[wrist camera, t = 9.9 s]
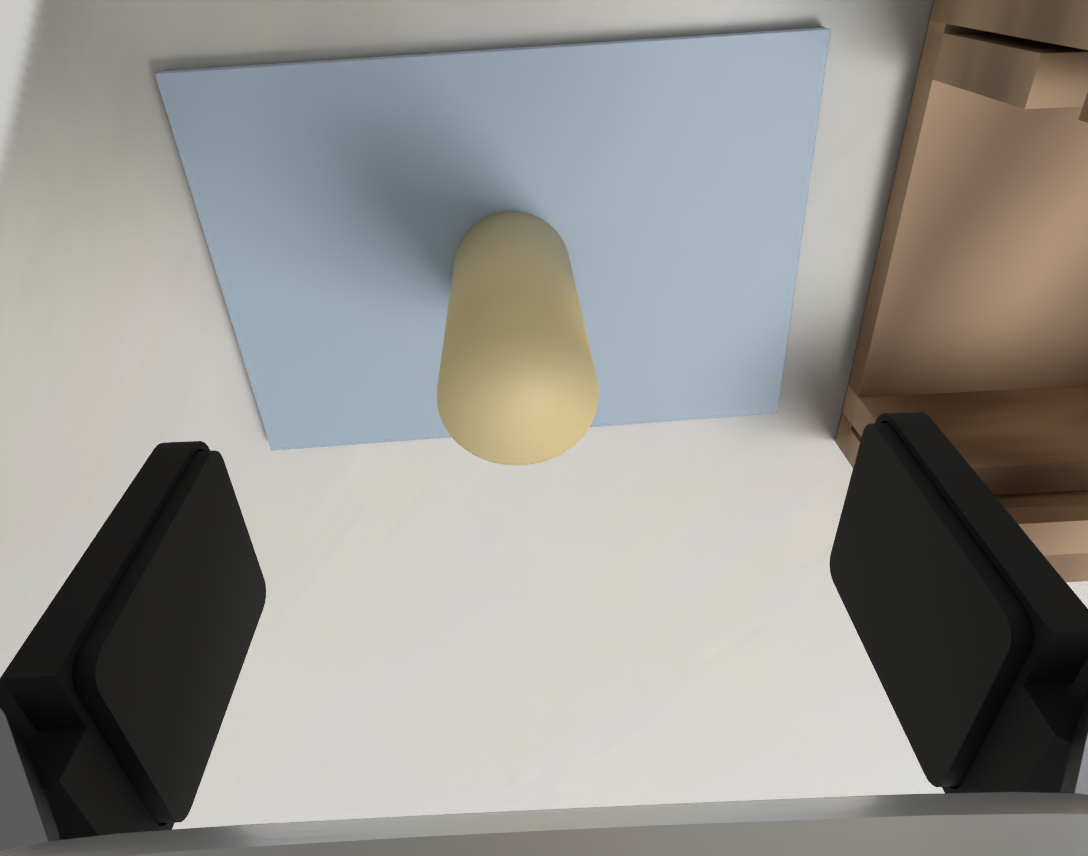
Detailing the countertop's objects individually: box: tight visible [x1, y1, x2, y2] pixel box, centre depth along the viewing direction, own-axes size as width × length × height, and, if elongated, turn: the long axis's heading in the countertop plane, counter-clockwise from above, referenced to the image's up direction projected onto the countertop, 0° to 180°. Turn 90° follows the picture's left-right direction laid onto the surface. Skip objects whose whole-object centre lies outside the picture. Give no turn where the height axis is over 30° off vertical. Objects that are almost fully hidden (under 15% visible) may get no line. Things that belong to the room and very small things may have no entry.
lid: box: [155, 27, 831, 465], centre depth 18 cm, size 16×11×8 cm
